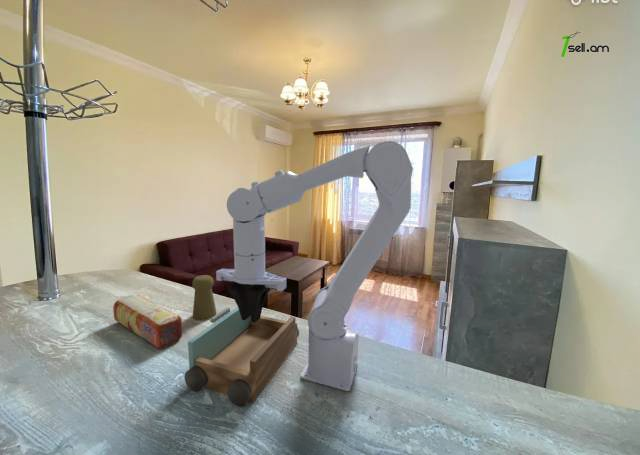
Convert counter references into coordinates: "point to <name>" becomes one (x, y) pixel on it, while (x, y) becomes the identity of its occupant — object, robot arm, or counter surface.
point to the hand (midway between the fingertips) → (251, 318)
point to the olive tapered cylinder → (203, 298)
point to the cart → (246, 361)
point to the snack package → (148, 320)
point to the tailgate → (217, 335)
